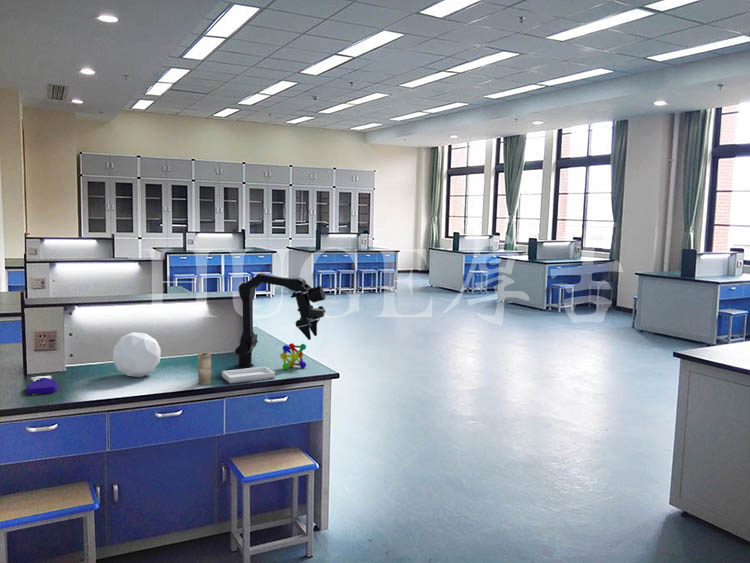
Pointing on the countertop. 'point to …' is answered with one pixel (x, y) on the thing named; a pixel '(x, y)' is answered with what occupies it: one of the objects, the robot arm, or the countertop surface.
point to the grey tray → (247, 374)
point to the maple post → (204, 368)
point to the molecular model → (293, 355)
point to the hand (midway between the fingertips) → (312, 337)
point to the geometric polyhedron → (136, 354)
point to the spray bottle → (42, 385)
